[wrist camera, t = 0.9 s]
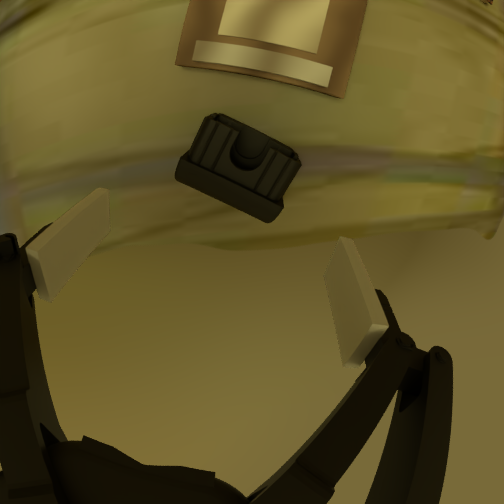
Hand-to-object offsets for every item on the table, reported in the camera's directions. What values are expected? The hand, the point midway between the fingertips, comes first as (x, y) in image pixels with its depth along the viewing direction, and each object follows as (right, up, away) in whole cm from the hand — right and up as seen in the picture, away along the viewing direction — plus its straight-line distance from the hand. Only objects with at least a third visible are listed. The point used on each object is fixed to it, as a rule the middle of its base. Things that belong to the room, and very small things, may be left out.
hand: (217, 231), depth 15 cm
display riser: (+4, +23, +4) cm, 24 cm away
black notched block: (+1, +9, +14) cm, 17 cm away
